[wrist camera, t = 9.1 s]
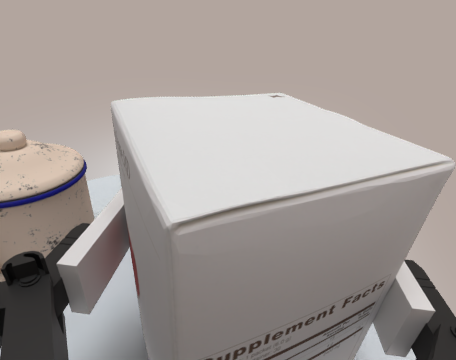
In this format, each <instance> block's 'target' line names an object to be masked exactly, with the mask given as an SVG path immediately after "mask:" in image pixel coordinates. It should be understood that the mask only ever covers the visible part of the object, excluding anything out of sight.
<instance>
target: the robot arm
mask: <svg viewBox="0 0 456 360" xmlns="http://www.w3.org/2000/svg"><path fill="white" fill-rule="evenodd" d="M129 247H130V243H129V235H128V228H127V221H126V214H125V207H124V200H123V193H122V188H121V189H120V191H119V192H118V193H117V194H116V195H115V196H114V198H113V199H112V200H111V201H110V202H109V203H108V205H107V206H106V207H105V208H104V209H103V210H102V211H101V213H100V214H99V215H98V216H97V217H96V218H95V220H94V221H93V222H92V223H91V224H88V223H81V224H80V225H78V226H76V227H75V228H73V229H72V230H71V231H70V232H69V233H68V234H67V235H66V236H65V238H63V239H62V240H61V241H60V243H59V244H58V245H57V246H56V247H55V248H54V249H53V250H52V251H51V252H50V253H49V254H48V255H47V256H46V258H44V256H43V254H42V253H40V252H38V251H27V252H23V253H20V254H17V255H15V256H13V257H12V258H10V259H8V260H7V261H6V262H5V263H4V264H3V266H2V268H1V272H2V274H3V276H4V278H5V281H2V282H0V348H1V356H0V360H68V349H67V338H66V327H65V316H64V314H63V311H64V309H65V308H66V306H67V305H68V303H69V305H70V308H71V311H72V312H76V313H83V314H90V313H91V311H92V310H93V308H94V306H95V304H96V303H97V301H98V299H99V298H100V296H101V294H102V293H103V291H104V289H105V288H106V286H107V284H108V283H109V281H110V279H111V278H112V276H113V274H114V272H115V271H116V269H117V267H118V266H119V264H120V262H121V261H122V259H123V257H124V256H125V254H126V252H127V251H128V249H129ZM373 324H374V326H375V329H376V331H377V334H378V337H379V339H380V342H381V344H382V347H383V350H384V352H385V354H386V355H394V356H401V357H406V356H407V354H408V353H409V351H410V349H411V348H412V350H413V352H414V354H415V356H416V358H417V359H416V360H456V317H455V316H454V314H453V313H452V311H451V310H450V308H449V307H448V305H447V304H446V302H445V301H444V299H443V298H442V296H441V295H440V293H439V292H438V291H437V290H436V289H435V286H434V285H433V283H432V282H431V281H430V279H429V277H428V276H427V275H426V273H425V271H424V270H423V269H422V268H421V267H420V266H419V265H417V264H416V263H415V262H414V261H412V260H404V262H403V264H402V266H401V268H400V270H399V272H398V274H397V276H396V278H395V280H394V282H393V284H392V285H391V287H390V289H389V291H388V293H387V295H386V297H385V299H384V301H383V303H382V305H381V307H380V309H379V311H378V313H377V314H376V316H375V318H374V320H373ZM1 346H2V347H1Z"/></svg>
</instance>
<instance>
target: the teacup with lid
mask: <svg viewBox="0 0 456 360" xmlns="http://www.w3.org/2000/svg"><path fill="white" fill-rule="evenodd" d="M86 169H87V166H86V162H85V160H84V159H83V157H82V156H81V155H80V154H79V153H78V152H77V151H75V150H74V149H72V148H69V147H66V146H63V145H57V144H47V143H41V142H37V141H32V140H26V137H25V135H24V134H23V133H22V132H21V131H18V130H3V131H0V282H2V281H5V278H4V276H3V274H2V272H1V268H2V266H3V264H4V263H5V262H6V261H7V260H8V259H10V258H12V257H13V256H15V255H17V254H20V253H23V252H27V251H38V252H40V253H42V254H43V256H44V258H46V256H47V255H48V254H49V253H50V252H51V251H52V250H53V249H54V248H55V247H56V246H57V245H58V244H59V243H60V241H61V240H62V239H63V238H65V236H66V235H67V234H68V233H69V232H70V231H71V230H72V229H73V228H75V227H76V226H78V225H80V224H81V223H88V224H91V223H92V222H93V221H94V215H93V210H92V205H91V200H90V196H89V191H88V186H87V181H86V176H85V172H86Z"/></svg>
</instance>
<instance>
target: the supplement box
mask: <svg viewBox="0 0 456 360" xmlns="http://www.w3.org/2000/svg"><path fill="white" fill-rule="evenodd" d="M111 112H112V120H113V127H114V135H115V142H116V149H117V157H118V163H119V171H120V179H121V186H122V193H123V200H124V207H125V214H126V221H127V228H128V235H129V243H130V251H131V258H132V264H133V270H134V277H135V284H136V291H137V298H138V304H139V311H140V317H141V323H142V330H143V335H144V340H145V345H146V350H147V354H148V359H149V360H353V359H354V357H355V355H356V353H357V351H358V349H359V347H360V345H361V343H362V341H363V340H364V338H365V336H366V334H367V332H368V330H369V328H370V326H371V324H372V322H373V320H374V318H375V316H376V314H377V313H378V311H379V309H380V307H381V305H382V303H383V301H384V299H385V297H386V295H387V293H388V291H389V289H390V287H391V285H392V284H393V282H394V280H395V278H396V276H397V274H398V272H399V270H400V268H401V266H402V264H403V262H404V260H405V258H406V256H407V254H408V252H409V250H410V248H411V247H412V245H413V243H414V241H415V239H416V237H417V235H418V233H419V231H420V229H421V227H422V226H423V224H424V222H425V220H426V218H427V216H428V214H429V212H430V210H431V209H432V207H433V205H434V203H435V201H436V199H437V197H438V195H439V194H440V192H441V190H442V188H443V186H444V185H445V183H446V181H447V180H448V178H449V176H450V175H451V173H452V172H453V170H454V168H455V166H456V164H455V163H454V161H453V160H452V159H451V158H450V157H447V156H444V155H442V154H439V153H437V152H434V151H431V150H429V149H426V148H424V147H421V146H418V145H416V144H413V143H410V142H408V141H405V140H403V139H400V138H397V137H395V136H392V135H389V134H387V133H384V132H381V131H379V130H376V129H373V128H371V127H368V126H366V125H363V124H361V123H359V122H357V121H355V120H353V119H351V118H349V117H346V116H343V115H341V114H338V113H335V112H332V111H328V110H325V109H322V108H319V107H316V106H314V105H311V104H309V103H306V102H304V101H301V100H299V99H296V98H293V97H291V96H288V95H285V94H283V93H270V94H256V95H237V96H212V97H146V98H132V99H124V100H116V101H112V103H111Z"/></svg>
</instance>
